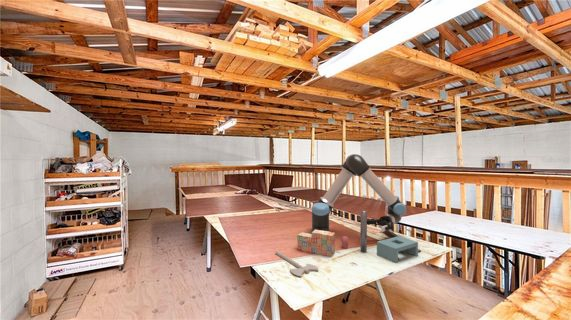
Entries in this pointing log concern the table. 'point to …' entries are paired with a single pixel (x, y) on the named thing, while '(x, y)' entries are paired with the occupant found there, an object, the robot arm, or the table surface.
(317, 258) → the table surface
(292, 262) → the axe
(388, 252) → the bridge
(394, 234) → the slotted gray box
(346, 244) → the short pin
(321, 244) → the stack of blocks
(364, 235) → the long pin
